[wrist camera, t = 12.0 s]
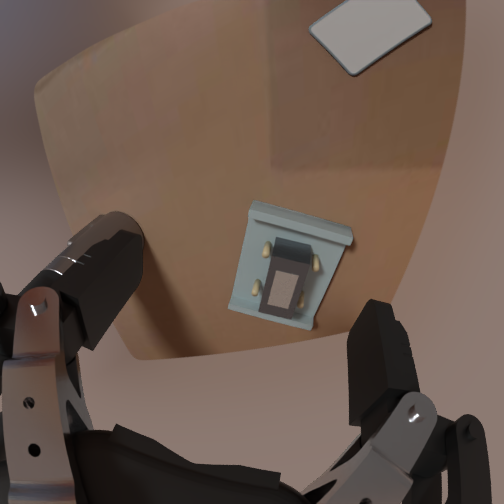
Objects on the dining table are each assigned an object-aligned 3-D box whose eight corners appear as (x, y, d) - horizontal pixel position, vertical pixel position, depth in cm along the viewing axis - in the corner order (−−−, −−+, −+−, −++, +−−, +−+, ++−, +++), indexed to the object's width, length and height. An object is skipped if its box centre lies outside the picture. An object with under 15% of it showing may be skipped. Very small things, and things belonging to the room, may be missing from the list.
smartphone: (305, 28, 27) (390, -27, 20) (305, 30, 28) (388, -25, 21) (352, 78, 29) (435, 21, 22) (351, 78, 30) (432, 23, 23)
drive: (276, 236, 42) (271, 256, 37) (310, 244, 41) (310, 265, 37) (262, 293, 47) (257, 314, 43) (292, 300, 47) (290, 322, 43)
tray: (232, 296, 51) (226, 312, 47) (253, 199, 41) (248, 212, 37) (311, 317, 50) (310, 334, 46) (350, 227, 40) (354, 241, 37)
